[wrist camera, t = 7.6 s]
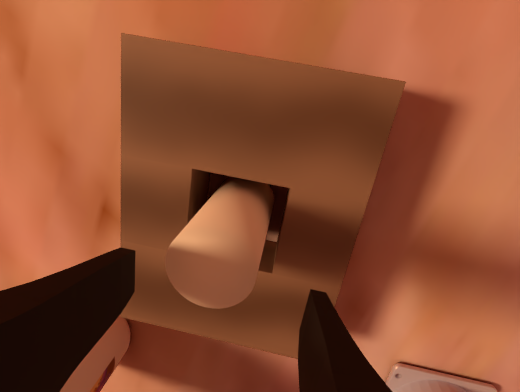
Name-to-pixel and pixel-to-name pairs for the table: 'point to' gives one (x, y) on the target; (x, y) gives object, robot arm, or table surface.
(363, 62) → the table surface
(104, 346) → the milk bottle
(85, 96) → the table surface
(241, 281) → the cream peg
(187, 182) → the walnut holder
